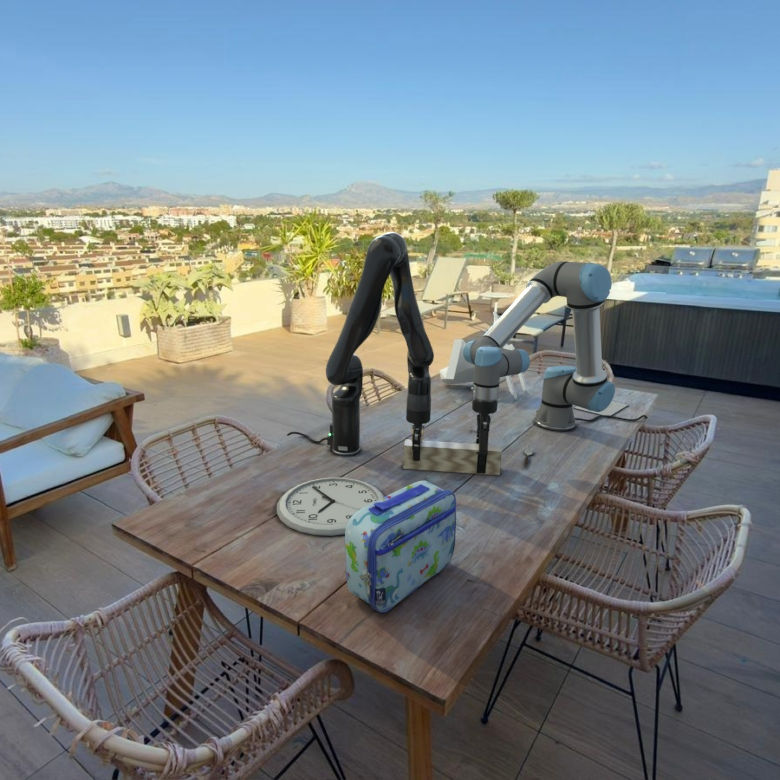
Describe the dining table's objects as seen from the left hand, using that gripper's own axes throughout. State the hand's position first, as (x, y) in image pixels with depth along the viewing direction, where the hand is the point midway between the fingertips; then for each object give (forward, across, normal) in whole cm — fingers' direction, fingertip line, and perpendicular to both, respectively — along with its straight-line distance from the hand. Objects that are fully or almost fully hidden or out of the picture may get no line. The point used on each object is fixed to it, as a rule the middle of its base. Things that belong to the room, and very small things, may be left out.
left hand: (416, 456), depth 166 cm
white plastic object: (+3, -83, +23) cm, 86 cm away
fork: (+3, -11, +36) cm, 38 cm away
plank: (+3, 0, +11) cm, 12 cm away
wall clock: (+3, +28, -21) cm, 35 cm away
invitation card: (+3, -71, +75) cm, 103 cm away
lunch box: (+3, +58, +1) cm, 58 cm away
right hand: (+2, 0, +20) cm, 20 cm away
